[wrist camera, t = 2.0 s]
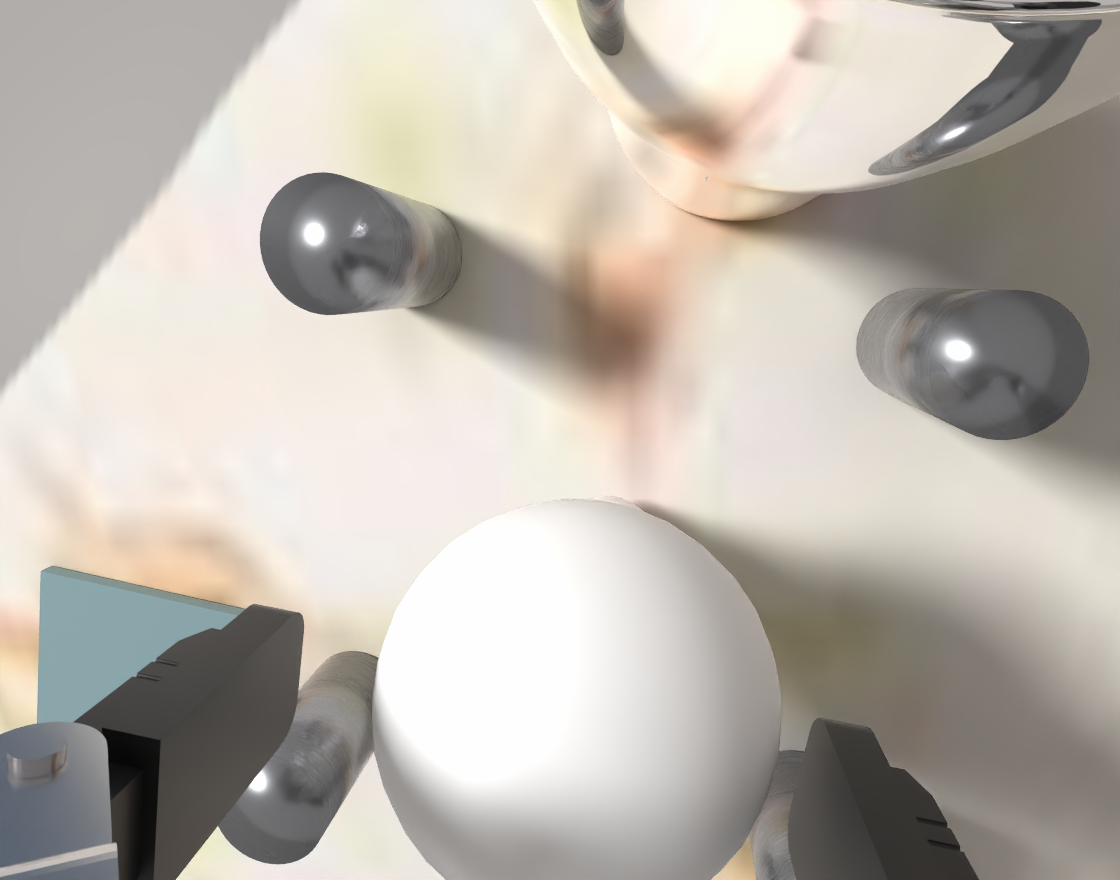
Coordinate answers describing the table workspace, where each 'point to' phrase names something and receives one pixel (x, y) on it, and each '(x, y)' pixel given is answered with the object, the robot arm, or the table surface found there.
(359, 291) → the spacers
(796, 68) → the beer glass
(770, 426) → the table surface
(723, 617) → the lightbulb
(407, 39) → the table surface
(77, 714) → the mat
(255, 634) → the robot arm
